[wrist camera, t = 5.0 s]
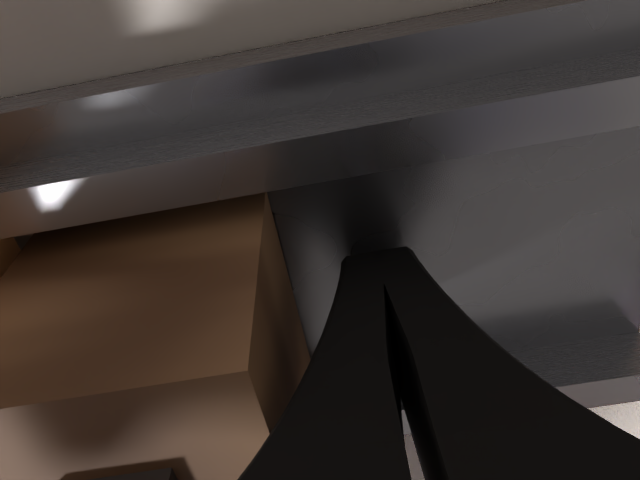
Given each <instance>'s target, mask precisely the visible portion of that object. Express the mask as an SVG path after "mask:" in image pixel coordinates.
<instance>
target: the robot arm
mask: <svg viewBox="0 0 640 480" xmlns="http://www.w3.org/2000/svg"><path fill="white" fill-rule="evenodd" d="M400 397H401V398H400ZM401 400H402V404H403V407H404V411H405V414H406V417H407V421H408V424H409V427H410V431H411V434H412V437H413V441H414V444H415V448H416V451H417V454H418V458H419V461H420V464H421V468H422V471H423V474H424V478H425V480H640V439H638V438H636V437H634V436H633V435H631V434H629V433H627V432H625V431H623V430H622V429H620V428H618V427H616V426H615V425H613V424H612V423H610V422H608V421H607V420H605V419H603V418H602V417H600V416H599V415H597V414H595V413H594V412H592V411H591V410H589V409H587V408H586V407H584V406H583V405H581V404H579V403H578V402H576V401H574V400H573V399H571V398H570V397H568V396H567V395H565V394H564V393H562V392H561V391H559V390H558V389H556V388H555V387H554V386H552V385H551V384H549V383H548V382H547V381H545V380H544V379H542V378H541V377H540V376H538V375H537V374H535V373H534V372H533V371H532V370H530V369H529V368H528V367H526V366H525V365H524V364H522V363H521V362H520V361H519V360H517V359H516V358H515V357H513V356H512V355H511V354H510V353H509V352H507V351H506V350H505V349H504V348H503V347H501V346H500V345H499V344H498V343H497V342H496V341H494V340H493V339H492V338H491V337H490V336H489V335H488V334H487V333H486V332H485V331H483V330H482V329H481V328H480V327H479V326H478V325H477V324H476V323H475V322H474V321H473V320H472V319H471V318H470V317H469V316H468V315H467V314H466V313H465V312H464V311H463V310H462V309H461V308H460V307H459V306H458V305H457V304H456V303H455V302H454V301H453V300H452V299H451V298H450V297H449V296H448V295H447V294H446V292H445V291H444V290H443V289H442V288H441V287H440V286H439V285H438V283H437V282H436V281H435V280H434V279H433V277H432V276H431V275H430V274H429V273H428V271H427V270H426V269H425V267H424V266H423V265H422V263H421V262H420V261H419V259H418V258H417V256H416V255H415V253H414V252H413V250H411V249H410V248H408V247H407V246H404V247H398V248H392V249H386V250H380V251H374V252H368V253H362V254H356V255H350V256H346V257H345V258H344V259H343V260H342V262H341V270H340V276H339V281H338V285H337V289H336V293H335V297H334V300H333V303H332V306H331V309H330V312H329V315H328V318H327V321H326V324H325V327H324V329H323V332H322V335H321V337H320V339H319V342H318V344H317V346H316V349H315V351H314V353H313V356H312V358H311V360H310V362H309V365H308V367H307V369H306V371H305V373H304V375H303V377H302V379H301V381H300V383H299V385H298V387H297V389H296V391H295V392H294V394H293V396H292V398H291V400H290V401H289V403H288V405H287V407H286V409H285V410H284V412H283V414H282V415H281V417H280V418H279V420H278V422H277V423H276V425H275V426H274V428H273V430H272V431H271V433H270V434H269V436H268V437H267V439H266V441H265V442H264V444H263V445H262V447H261V448H260V450H259V451H258V452H257V454H256V455H255V457H254V458H253V460H252V461H251V462H250V464H249V465H248V466H247V468H246V469H245V470H244V471H243V473H242V474H241V475H240V477H239V478H238V479H237V480H411V475H410V470H409V465H408V460H407V455H406V450H405V443H404V432H403V420H402V409H401Z"/></svg>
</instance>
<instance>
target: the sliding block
mask: <svg viewBox="0 0 640 480" xmlns="http://www.w3.org/2000/svg"><path fill="white" fill-rule="evenodd" d="M309 362H310V356H309V352H308V348H307V344H306V341H305V337H304V333H303V329H302V325H301V321H300V318H299V314H298V310H297V306H296V302H295V298H294V295H293V291H292V287H291V283H290V279H289V276H288V272H287V268H286V264H285V260H284V256H283V253H282V249H281V245H280V241H279V237H278V234H277V230H276V226H275V222H274V218H273V214H272V211H271V207H270V203H269V199H268V195H267V192H264V193H258V194H253V195H247V196H242V197H236V198H230V199H225V200H219V201H213V202H208V203H202V204H196V205H191V206H185V207H179V208H174V209H168V210H163V211H157V212H151V213H146V214H140V215H134V216H129V217H123V218H117V219H112V220H106V221H100V222H95V223H89V224H83V225H78V226H72V227H67V228H61V229H55V230H50V231H44V232H38V233H33V235H32V236H31V238H30V239H29V240H28V242H27V243H26V244H25V246H24V247H23V248H22V250H21V251H20V252H19V254H18V255H17V257H16V258H15V259H14V261H13V262H12V263H11V265H10V266H9V267H8V269H7V270H6V271H5V273H4V274H3V275H2V277H1V278H0V480H237V479H238V478H239V477H240V475H241V474H242V473H243V471H244V470H245V469H246V468H247V466H248V465H249V464H250V462H251V461H252V460H253V458H254V457H255V455H256V454H257V452H258V451H259V450H260V448H261V447H262V445H263V444H264V442H265V441H266V439H267V437H268V436H269V434H270V433H271V431H272V430H273V428H274V426H275V425H276V423H277V422H278V420H279V418H280V417H281V415H282V414H283V412H284V410H285V409H286V407H287V405H288V403H289V401H290V400H291V398H292V396H293V394H294V392H295V391H296V389H297V387H298V385H299V383H300V381H301V379H302V377H303V375H304V373H305V371H306V369H307V367H308V365H309Z"/></svg>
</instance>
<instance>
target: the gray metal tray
mask: <svg viewBox="0 0 640 480" xmlns="http://www.w3.org/2000/svg"><path fill="white" fill-rule="evenodd" d="M264 192H267V195H268V199H269V203H270V207H271V211H272V214H273V218H274V222H275V226H276V230H277V234H278V237H279V241H280V245H281V249H282V253H283V256H284V260H285V264H286V268H287V272H288V276H289V279H290V283H291V287H292V291H293V295H294V298H295V302H296V306H297V310H298V314H299V318H300V321H301V325H302V329H303V333H304V337H305V341H306V344H307V348H308V352H309V356H310V360H311V358H312V356H313V353H314V351H315V349H316V346H317V344H318V342H319V339H320V337H321V335H322V332H323V329H324V327H325V324H326V321H327V318H328V315H329V312H330V309H331V306H332V303H333V300H334V297H335V293H336V289H337V285H338V281H339V276H340V270H341V262H342V260H343V259H344V258H345V257H346V256H350V255H356V254H362V253H368V252H374V251H380V250H386V249H392V248H398V247H404V246H407V247H408V248H410V249H411V250H413V252H414V253H415V255H416V256H417V258H418V259H419V261H420V262H421V263H422V265H423V266H424V267H425V269H426V270H427V271H428V273H429V274H430V275H431V276H432V277H433V279H434V280H435V281H436V282H437V283H438V285H439V286H440V287H441V288H442V289H443V290H444V291H445V292H446V294H447V295H448V296H449V297H450V298H451V299H452V300H453V301H454V302H455V303H456V304H457V305H458V306H459V307H460V308H461V309H462V310H463V311H464V312H465V313H466V314H467V315H468V316H469V317H470V318H471V319H472V320H473V321H474V322H475V323H476V324H477V325H478V326H479V327H480V328H481V329H482V330H483V331H485V332H486V333H487V334H488V335H489V336H490V337H491V338H492V339H493V340H494V341H496V342H497V343H498V344H499V345H500V346H501V347H503V348H504V349H505V350H506V351H507V352H509V353H510V354H511V355H512V356H513V357H515V358H516V359H517V360H519V361H520V362H521V363H522V364H524V365H525V366H526V367H528V368H529V369H530V370H532V371H533V372H534V373H535V374H537V375H538V376H540V377H541V378H542V379H544V380H545V381H547V382H548V383H549V384H551V385H552V386H554V387H555V388H556V389H558V390H559V391H561V392H562V393H564V394H565V395H567V396H568V397H570V398H571V399H573V400H574V401H576V402H578V403H579V404H581V405H583V406H584V407H586V408H593V407H599V406H606V405H613V404H620V403H627V402H634V401H640V333H639V324H640V0H505V1H500V2H495V3H490V4H485V5H480V6H475V7H470V8H464V9H459V10H454V11H449V12H444V13H439V14H434V15H429V16H423V17H418V18H413V19H408V20H403V21H398V22H393V23H388V24H382V25H377V26H372V27H367V28H362V29H357V30H352V31H346V32H341V33H336V34H331V35H326V36H321V37H316V38H311V39H305V40H300V41H295V42H290V43H285V44H280V45H275V46H270V47H264V48H259V49H254V50H249V51H244V52H239V53H234V54H229V55H223V56H218V57H213V58H208V59H203V60H198V61H193V62H188V63H182V64H177V65H172V66H167V67H162V68H157V69H152V70H147V71H141V72H136V73H131V74H126V75H121V76H116V77H111V78H106V79H100V80H95V81H90V82H85V83H80V84H75V85H70V86H64V87H59V88H54V89H49V90H44V91H39V92H34V93H29V94H23V95H18V96H13V97H8V98H3V99H0V239H4V238H10V237H14V239H15V241H16V242H17V244H18V246H19V248H20V249H21V250H22V248H23V247H24V246H25V244H26V243H27V242H28V240H29V239H30V238H31V236H32V235H33V233H38V232H44V231H50V230H55V229H61V228H67V227H72V226H78V225H83V224H89V223H95V222H100V221H106V220H112V219H117V218H123V217H129V216H134V215H140V214H146V213H151V212H157V211H163V210H168V209H174V208H179V207H185V206H191V205H196V204H202V203H208V202H213V201H219V200H225V199H230V198H236V197H242V196H247V195H253V194H258V193H264ZM400 398H401V397H400ZM401 409H402V420H403V432H404V435H406V434H411V431H410V427H409V424H408V421H407V417H406V414H405V411H404V407H403V404H402V400H401Z"/></svg>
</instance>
